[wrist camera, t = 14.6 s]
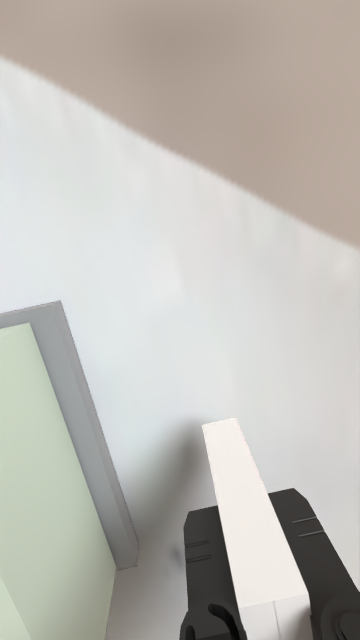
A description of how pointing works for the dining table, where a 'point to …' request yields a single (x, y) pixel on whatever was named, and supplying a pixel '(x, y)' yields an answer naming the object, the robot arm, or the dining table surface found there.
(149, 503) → the dining table surface
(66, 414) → the base
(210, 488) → the dining table surface
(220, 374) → the dining table surface
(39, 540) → the housing
